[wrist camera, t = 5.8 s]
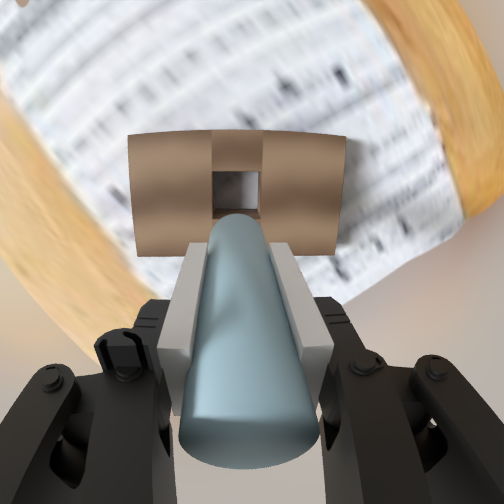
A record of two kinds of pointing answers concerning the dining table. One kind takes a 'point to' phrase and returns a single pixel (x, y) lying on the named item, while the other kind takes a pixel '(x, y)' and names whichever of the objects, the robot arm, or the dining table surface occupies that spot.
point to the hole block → (235, 159)
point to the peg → (244, 361)
